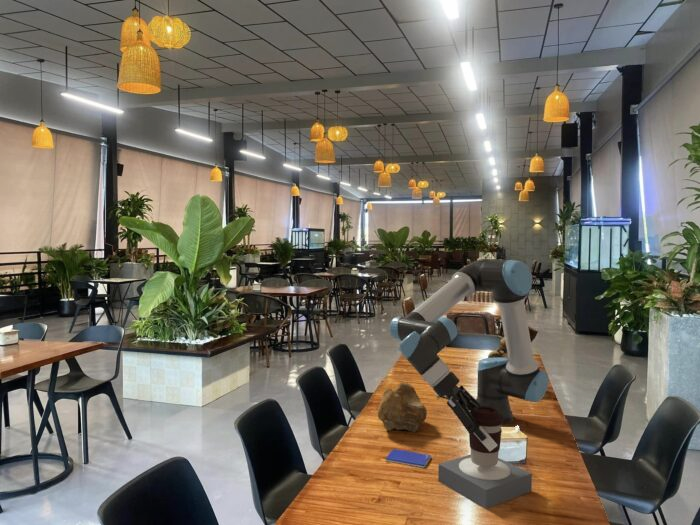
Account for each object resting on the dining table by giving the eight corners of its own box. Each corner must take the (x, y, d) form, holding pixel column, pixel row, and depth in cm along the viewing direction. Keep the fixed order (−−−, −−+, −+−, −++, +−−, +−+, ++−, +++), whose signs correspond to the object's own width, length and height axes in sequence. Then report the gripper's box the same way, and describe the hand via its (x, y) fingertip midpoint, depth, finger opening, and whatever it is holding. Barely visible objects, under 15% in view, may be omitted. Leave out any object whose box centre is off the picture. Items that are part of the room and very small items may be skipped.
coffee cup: (459, 461, 148) (460, 409, 147) (478, 451, 155) (479, 401, 154) (490, 473, 141) (492, 418, 140) (509, 462, 148) (510, 409, 147)
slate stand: (482, 466, 160) (482, 449, 160) (531, 491, 145) (531, 472, 145) (438, 481, 151) (438, 463, 150) (485, 508, 135) (486, 488, 135)
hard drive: (430, 454, 167) (393, 448, 171) (424, 464, 159) (385, 457, 164) (430, 459, 167) (393, 452, 171) (424, 469, 159) (385, 462, 164)
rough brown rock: (413, 444, 179) (418, 401, 178) (369, 431, 187) (374, 390, 186) (435, 425, 200) (439, 386, 199) (394, 414, 207) (398, 377, 206)
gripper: (440, 377, 163) (491, 435, 158) (422, 397, 142) (480, 465, 137) (458, 362, 160) (510, 420, 155) (441, 380, 140) (501, 448, 135)
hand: (496, 441), depth 146 cm, fingers closed on coffee cup, 10 cm apart
